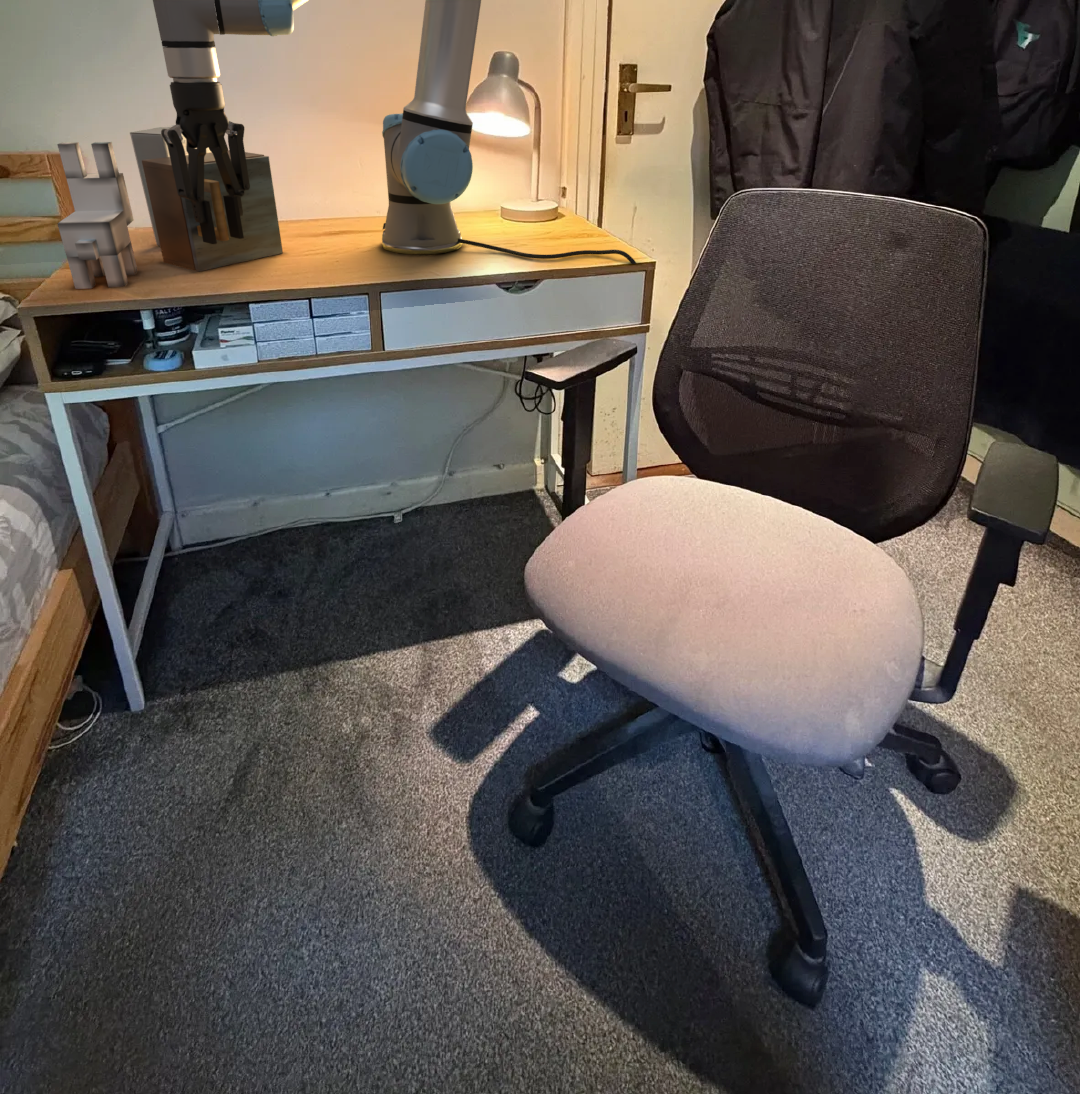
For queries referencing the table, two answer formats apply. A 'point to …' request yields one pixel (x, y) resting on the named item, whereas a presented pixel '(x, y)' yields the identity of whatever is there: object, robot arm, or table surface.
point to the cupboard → (171, 210)
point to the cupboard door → (255, 220)
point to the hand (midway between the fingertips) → (223, 239)
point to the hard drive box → (151, 147)
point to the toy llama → (97, 218)
